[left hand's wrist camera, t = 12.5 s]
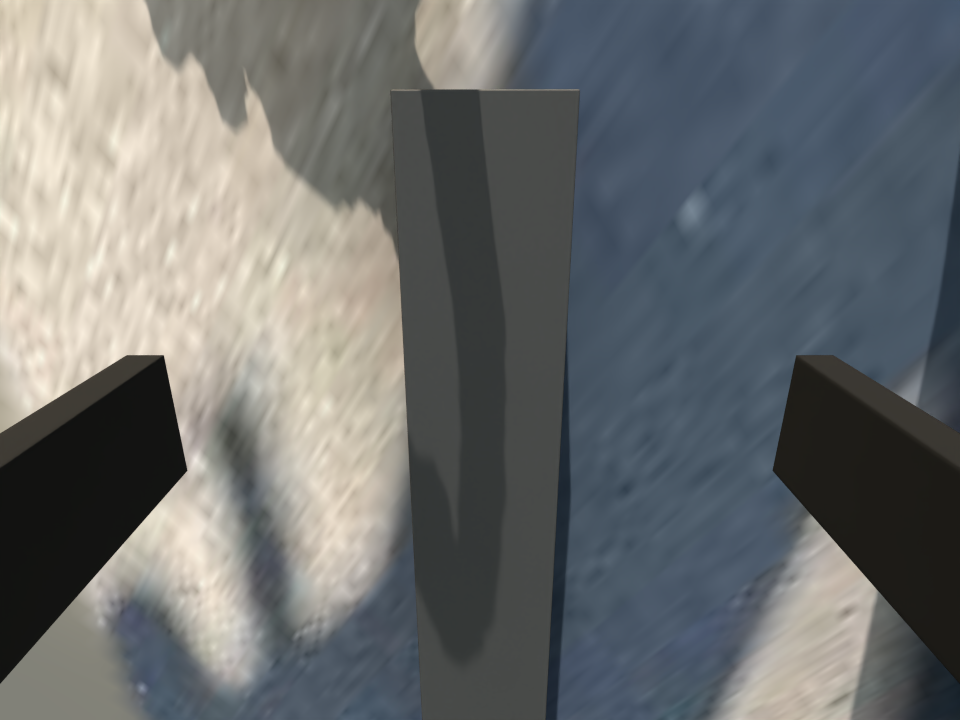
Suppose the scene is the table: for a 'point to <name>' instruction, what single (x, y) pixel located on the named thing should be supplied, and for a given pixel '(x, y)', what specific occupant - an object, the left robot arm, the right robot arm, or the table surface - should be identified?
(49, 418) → the left robot arm
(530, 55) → the table surface
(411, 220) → the thick board
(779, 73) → the table surface
